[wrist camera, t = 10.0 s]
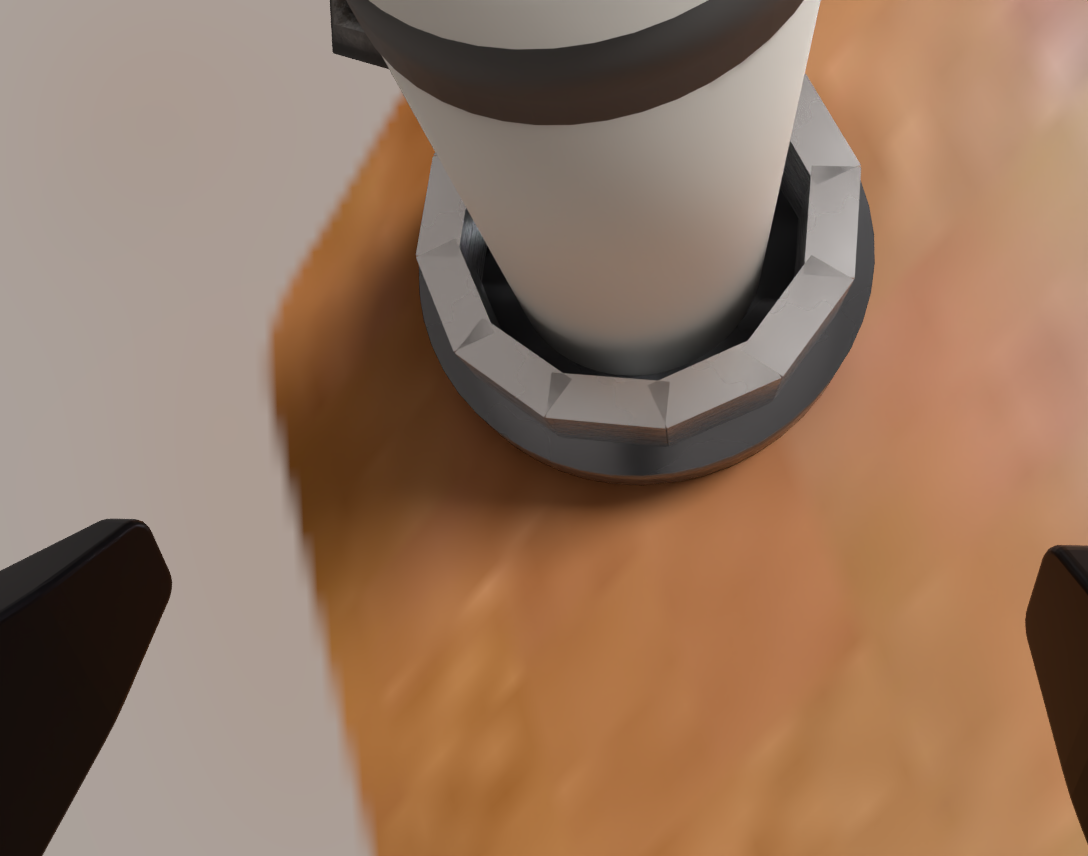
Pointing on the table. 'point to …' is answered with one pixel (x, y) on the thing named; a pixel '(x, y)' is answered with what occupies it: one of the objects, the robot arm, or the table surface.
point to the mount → (682, 393)
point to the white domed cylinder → (610, 154)
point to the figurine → (351, 36)
